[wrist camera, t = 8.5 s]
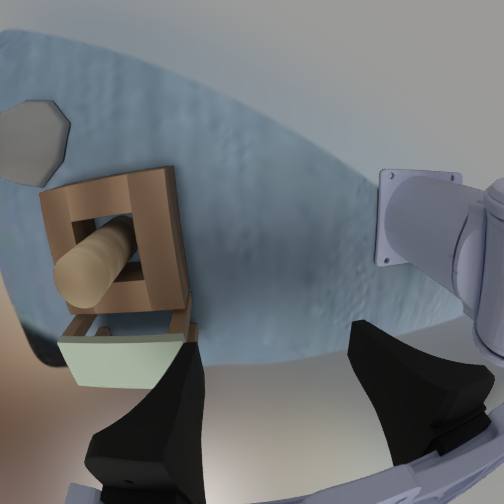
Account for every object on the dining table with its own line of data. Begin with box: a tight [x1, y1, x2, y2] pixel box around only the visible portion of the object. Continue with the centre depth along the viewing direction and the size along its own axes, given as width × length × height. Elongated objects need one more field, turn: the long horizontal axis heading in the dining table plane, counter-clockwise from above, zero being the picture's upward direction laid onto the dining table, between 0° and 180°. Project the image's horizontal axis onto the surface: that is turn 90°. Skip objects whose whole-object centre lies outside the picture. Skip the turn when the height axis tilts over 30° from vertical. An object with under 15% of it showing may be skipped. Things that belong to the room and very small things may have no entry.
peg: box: [54, 216, 138, 308], centre depth 16 cm, size 3×3×8 cm
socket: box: [39, 165, 190, 314], centre depth 18 cm, size 9×9×4 cm
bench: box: [57, 291, 198, 389], centre depth 19 cm, size 9×4×6 cm, turn 94°
